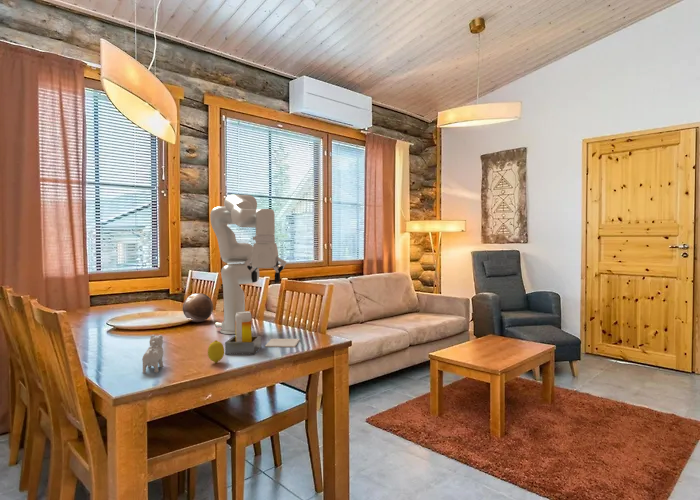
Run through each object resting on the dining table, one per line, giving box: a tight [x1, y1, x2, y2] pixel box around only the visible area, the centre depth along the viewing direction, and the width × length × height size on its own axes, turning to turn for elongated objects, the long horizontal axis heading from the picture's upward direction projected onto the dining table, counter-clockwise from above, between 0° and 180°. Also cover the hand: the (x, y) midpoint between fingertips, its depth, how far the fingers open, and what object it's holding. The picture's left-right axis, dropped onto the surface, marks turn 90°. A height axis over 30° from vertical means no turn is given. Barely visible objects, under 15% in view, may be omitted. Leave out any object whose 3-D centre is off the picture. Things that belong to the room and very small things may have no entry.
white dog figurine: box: [141, 334, 164, 374], centre depth 150 cm, size 5×13×11 cm, turn 11°
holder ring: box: [224, 335, 262, 356], centre depth 173 cm, size 11×11×4 cm
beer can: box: [235, 310, 253, 342], centre depth 173 cm, size 6×6×15 cm
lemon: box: [207, 340, 225, 364], centre depth 156 cm, size 6×6×8 cm
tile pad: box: [264, 338, 301, 348], centre depth 185 cm, size 12×12×1 cm
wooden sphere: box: [182, 292, 214, 323], centre depth 232 cm, size 15×15×15 cm
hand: (265, 282), depth 180 cm, fingers open, 9 cm apart
